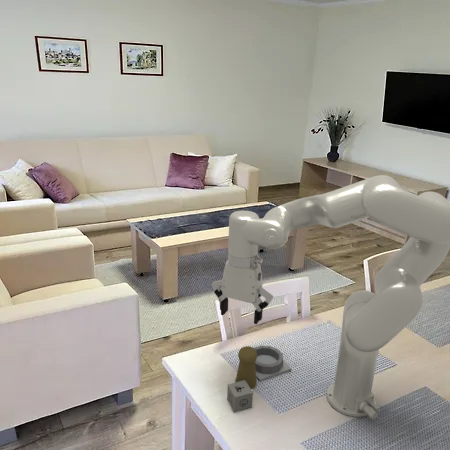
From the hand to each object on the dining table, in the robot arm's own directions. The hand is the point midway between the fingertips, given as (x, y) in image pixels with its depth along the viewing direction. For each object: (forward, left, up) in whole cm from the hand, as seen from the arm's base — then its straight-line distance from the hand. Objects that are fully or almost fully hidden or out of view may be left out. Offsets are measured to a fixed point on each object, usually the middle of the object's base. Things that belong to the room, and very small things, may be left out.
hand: (240, 317), depth 115 cm
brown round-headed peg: (-3, -1, -20) cm, 20 cm away
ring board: (+1, -10, -20) cm, 22 cm away
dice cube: (-9, +5, -20) cm, 23 cm away
